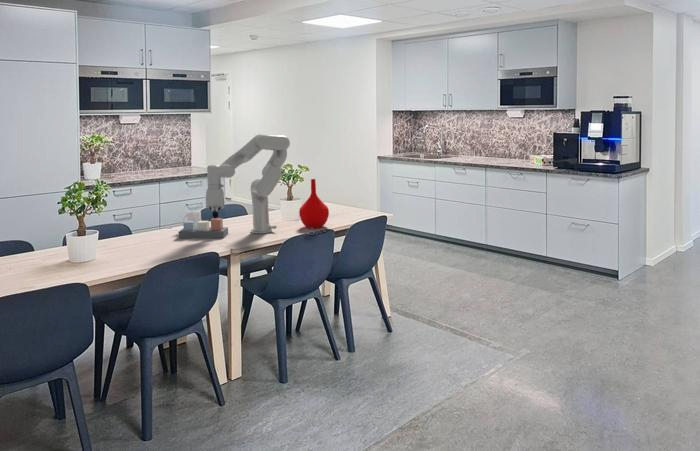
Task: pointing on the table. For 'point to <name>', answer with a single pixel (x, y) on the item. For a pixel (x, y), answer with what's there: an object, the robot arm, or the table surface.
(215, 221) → the key brick
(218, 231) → the console
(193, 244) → the table surface
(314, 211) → the vase
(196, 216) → the mug
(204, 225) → the key ivory
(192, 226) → the key blue
